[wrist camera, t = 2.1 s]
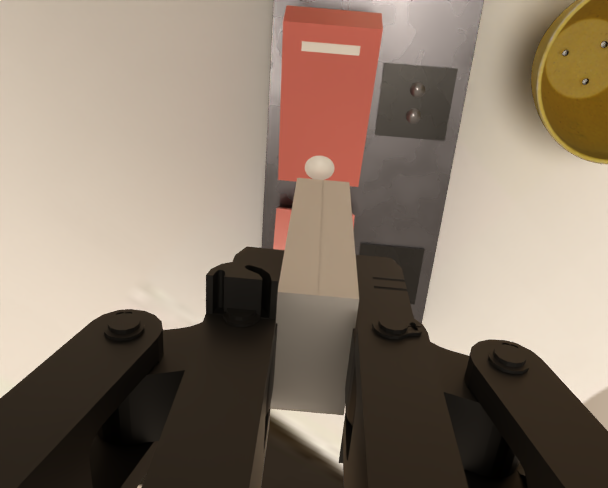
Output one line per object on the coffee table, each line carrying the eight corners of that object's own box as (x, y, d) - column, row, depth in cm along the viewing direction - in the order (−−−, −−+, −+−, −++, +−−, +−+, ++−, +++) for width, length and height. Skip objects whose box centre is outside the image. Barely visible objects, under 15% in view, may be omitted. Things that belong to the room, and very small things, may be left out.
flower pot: (472, 52, 38) (501, 68, 31) (610, -66, 34) (674, -75, 28) (556, 162, 40) (598, 198, 34) (691, 63, 37) (766, 81, 31)
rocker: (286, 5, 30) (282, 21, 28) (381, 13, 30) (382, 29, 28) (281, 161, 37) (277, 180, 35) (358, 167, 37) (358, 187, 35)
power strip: (281, -35, 36) (273, -37, 31) (471, -19, 36) (494, -19, 31) (262, 316, 47) (254, 356, 42) (408, 329, 47) (417, 370, 42)
